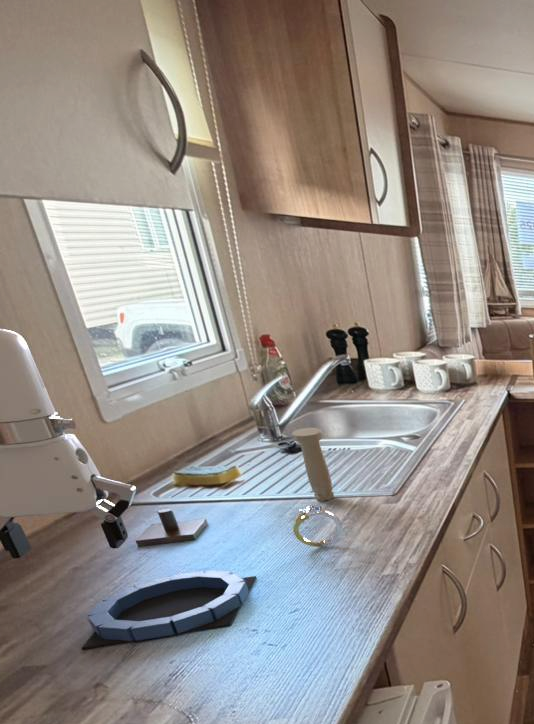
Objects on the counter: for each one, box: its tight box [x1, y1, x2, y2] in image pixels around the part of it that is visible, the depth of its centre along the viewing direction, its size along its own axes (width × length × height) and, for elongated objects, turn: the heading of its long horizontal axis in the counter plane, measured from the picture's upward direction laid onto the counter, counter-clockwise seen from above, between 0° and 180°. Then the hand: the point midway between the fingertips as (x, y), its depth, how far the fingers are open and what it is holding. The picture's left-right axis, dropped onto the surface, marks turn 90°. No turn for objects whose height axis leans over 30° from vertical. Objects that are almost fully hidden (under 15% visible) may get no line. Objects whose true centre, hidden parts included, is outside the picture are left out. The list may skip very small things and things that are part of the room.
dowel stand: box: [135, 507, 209, 547], centre depth 118 cm, size 8×8×5 cm
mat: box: [81, 575, 257, 651], centre depth 97 cm, size 16×16×1 cm
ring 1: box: [87, 570, 250, 642], centre depth 96 cm, size 17×17×2 cm
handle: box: [291, 427, 335, 502], centre depth 135 cm, size 5×6×15 cm
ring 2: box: [292, 504, 343, 548], centre depth 116 cm, size 7×3×8 cm, turn 119°
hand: (71, 549), depth 89 cm, fingers open, 9 cm apart
